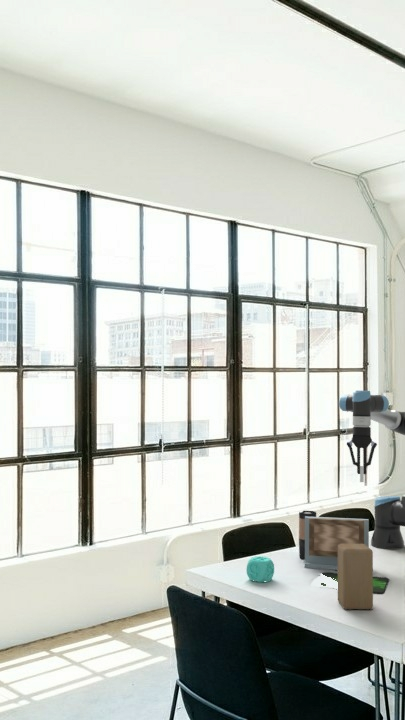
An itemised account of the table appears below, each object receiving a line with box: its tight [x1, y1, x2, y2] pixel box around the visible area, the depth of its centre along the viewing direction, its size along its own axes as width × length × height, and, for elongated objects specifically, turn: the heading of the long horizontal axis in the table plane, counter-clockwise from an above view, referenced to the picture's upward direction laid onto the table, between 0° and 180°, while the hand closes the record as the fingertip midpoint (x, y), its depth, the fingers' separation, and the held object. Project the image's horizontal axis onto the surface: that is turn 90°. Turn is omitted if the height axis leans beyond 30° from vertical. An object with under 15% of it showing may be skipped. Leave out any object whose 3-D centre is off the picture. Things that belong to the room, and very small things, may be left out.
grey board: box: [303, 516, 370, 570], centre depth 283 cm, size 26×8×20 cm, turn 79°
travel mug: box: [298, 510, 317, 561], centre depth 297 cm, size 8×8×20 cm
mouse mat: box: [321, 571, 390, 595], centre depth 259 cm, size 27×22×1 cm
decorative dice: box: [246, 556, 275, 583], centre depth 262 cm, size 8×8×8 cm
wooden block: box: [337, 544, 374, 610], centre depth 231 cm, size 10×10×20 cm
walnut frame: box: [309, 518, 364, 557], centre depth 278 cm, size 22×2×15 cm, turn 79°
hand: (361, 481), depth 290 cm, fingers closed
